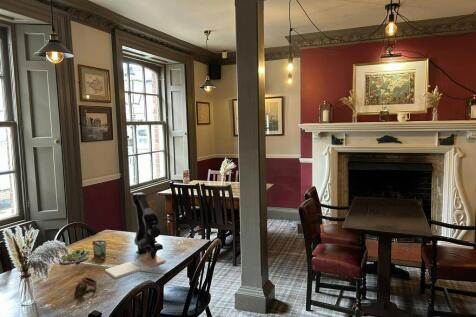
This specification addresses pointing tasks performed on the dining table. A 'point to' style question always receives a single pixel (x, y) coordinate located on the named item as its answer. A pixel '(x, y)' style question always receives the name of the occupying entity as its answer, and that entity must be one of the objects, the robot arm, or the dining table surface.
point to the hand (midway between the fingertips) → (151, 258)
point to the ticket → (123, 269)
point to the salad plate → (75, 256)
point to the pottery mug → (84, 286)
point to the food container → (99, 249)
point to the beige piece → (151, 260)
